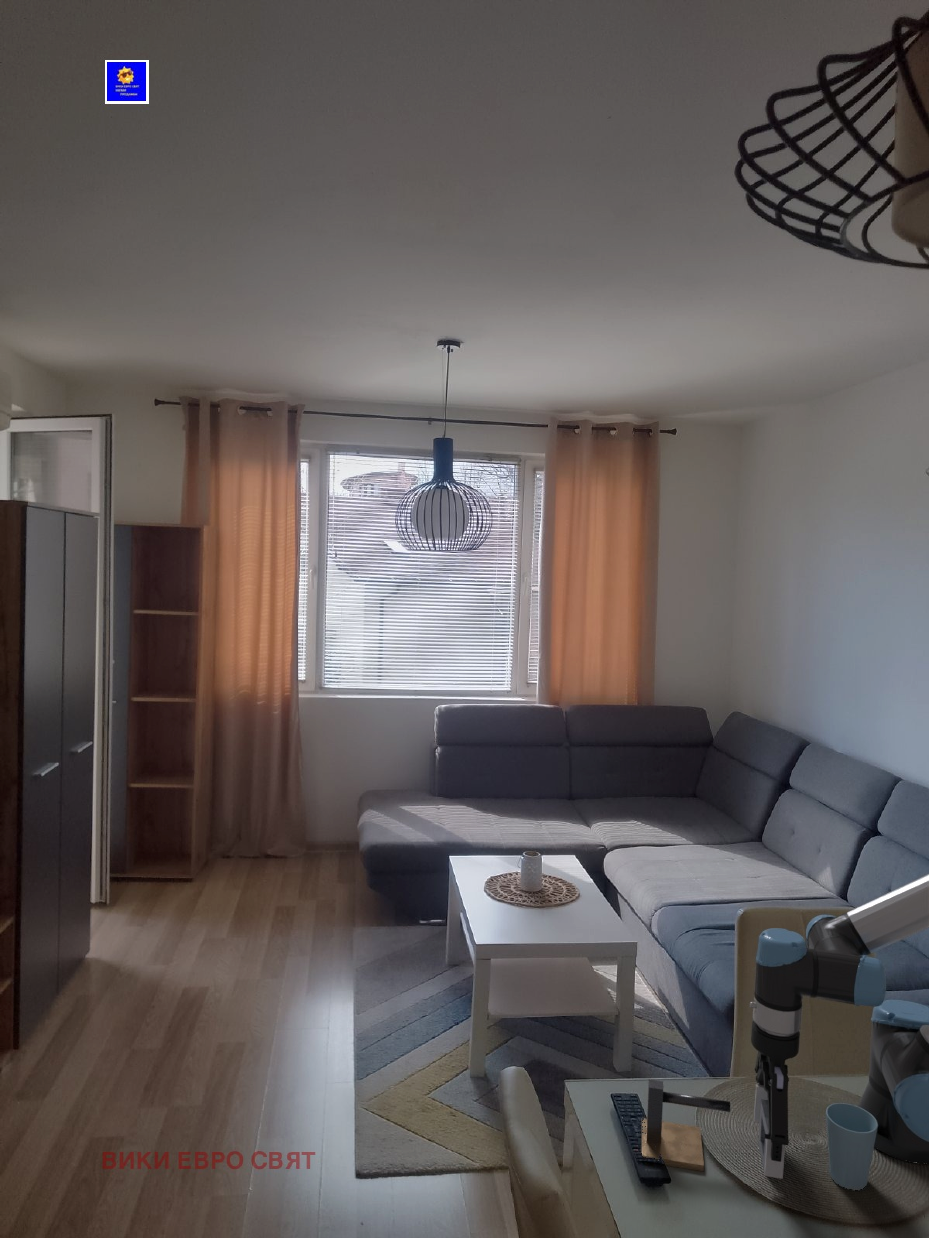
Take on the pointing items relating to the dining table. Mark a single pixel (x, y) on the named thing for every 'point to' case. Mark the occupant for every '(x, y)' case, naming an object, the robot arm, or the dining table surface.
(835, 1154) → the cup
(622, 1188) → the dining table surface
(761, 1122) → the link
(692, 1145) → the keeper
